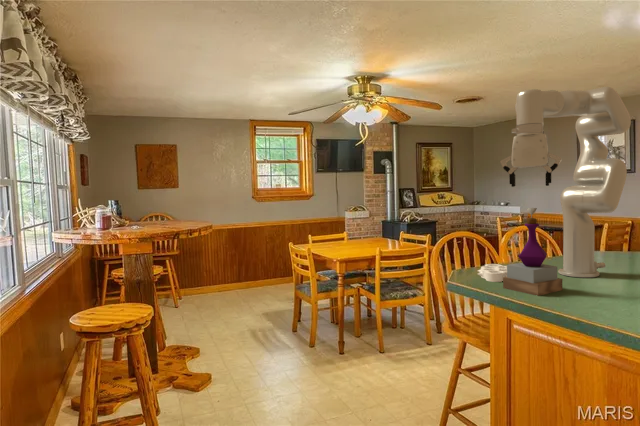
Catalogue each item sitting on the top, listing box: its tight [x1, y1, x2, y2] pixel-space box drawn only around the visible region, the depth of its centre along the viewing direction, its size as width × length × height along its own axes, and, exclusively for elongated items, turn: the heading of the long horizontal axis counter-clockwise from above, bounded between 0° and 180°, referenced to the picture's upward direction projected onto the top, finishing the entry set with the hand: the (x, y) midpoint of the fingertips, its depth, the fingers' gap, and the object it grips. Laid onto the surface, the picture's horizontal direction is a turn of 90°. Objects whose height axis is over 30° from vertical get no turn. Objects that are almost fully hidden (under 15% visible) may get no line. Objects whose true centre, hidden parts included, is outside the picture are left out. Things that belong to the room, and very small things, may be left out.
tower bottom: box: [502, 277, 563, 297], centre depth 137 cm, size 12×12×4 cm
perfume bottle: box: [518, 207, 548, 267], centre depth 136 cm, size 8×8×18 cm
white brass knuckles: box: [477, 263, 507, 283], centre depth 156 cm, size 3×18×15 cm
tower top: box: [506, 262, 558, 283], centre depth 136 cm, size 10×10×4 cm
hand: (530, 186), depth 137 cm, fingers open, 9 cm apart
